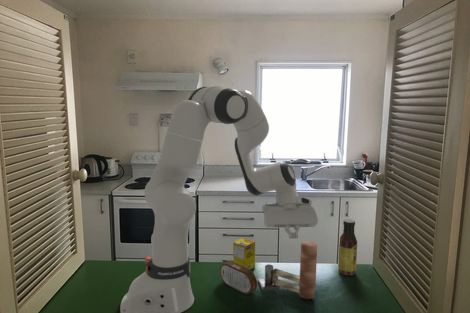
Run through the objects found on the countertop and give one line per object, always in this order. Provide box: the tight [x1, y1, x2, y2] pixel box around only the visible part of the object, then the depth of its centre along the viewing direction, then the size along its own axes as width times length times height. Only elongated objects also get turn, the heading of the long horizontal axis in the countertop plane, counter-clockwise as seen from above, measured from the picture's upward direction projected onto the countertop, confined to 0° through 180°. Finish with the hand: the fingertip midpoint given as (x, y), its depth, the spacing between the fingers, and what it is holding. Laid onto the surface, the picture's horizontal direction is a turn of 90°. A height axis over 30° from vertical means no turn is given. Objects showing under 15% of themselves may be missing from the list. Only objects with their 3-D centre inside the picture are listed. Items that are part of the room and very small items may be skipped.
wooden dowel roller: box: [272, 240, 318, 300], centre depth 112 cm, size 15×5×17 cm, turn 55°
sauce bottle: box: [338, 219, 358, 277], centre depth 127 cm, size 6×6×20 cm
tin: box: [219, 260, 258, 295], centre depth 117 cm, size 15×3×8 cm, turn 47°
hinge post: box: [257, 264, 281, 292], centre depth 119 cm, size 6×6×7 cm
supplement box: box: [232, 237, 256, 271], centre depth 130 cm, size 6×6×11 cm
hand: (293, 238), depth 127 cm, fingers closed
